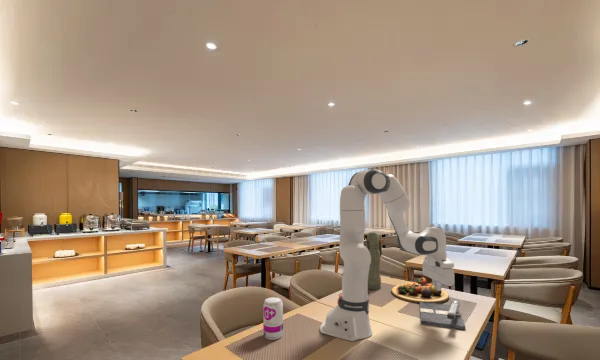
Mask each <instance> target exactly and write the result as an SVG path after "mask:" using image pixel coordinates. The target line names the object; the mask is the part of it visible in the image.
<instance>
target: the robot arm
mask: <svg viewBox="0 0 600 360" xmlns="http://www.w3.org/2000/svg"><path fill="white" fill-rule="evenodd" d="M374 194H375V195H377V194H378V195H379V197H380V198H381V200H382V203H383V204H384V206H385V208H386V210H387V215H388V217H389V220H390V222H391V225H392V228H393V229H394V232H395V234H396V237H397V243H398V246H399V248H400V249H401V250H402V251H403V252H406V253H407V252H408V253H412V254H416V255H419V256H425V257H424V258H423V262H422V275H423V276H425V277H428V278H430V279H431V281H432V285H434V289H436V290H438V291H441V289H442V286H443V285H444V286H446V287H448V286H451V287H452V286H454V284H455V272H454V271H455V270H454V268H455V264H454V262H453V261H452V260H450V259H449V257H447V255H448V254H447V251H446V247H447V239H446V238H447V237H446V232H445V230H444V228H443V227H439V226H433V225H428V226H427V227H426V228H425V229H424V230H423V231H421V232H418V233H416V232H413V231H411V230H410V229H409V226H408V225H407V223H406V220H405V218H404V214H405V213H406V212H407V211H408V210H409V209H410V206H411V202H410V198H409V196H408V194H407V193H406V190H405V188H404V187H403V186H402V184H401V182H400V181H399V180H398V179H397V177H396V176H395V175H393V174H389V173H388V174H387V173H384V172H383V171H382V170H379V169H375V168H374V169H363V170H361V171H357V172H355V173H354V174H353V175H352V176H351V178H350V180H349V183H348V184H347V185H346V186H344V187H343V188H342V189H341V191H340V195H339V196H340V197H339V221H340V223H339V224H340V225H339V226H340V230H339V256H340V258H341V260H342V261H343V272H342V273H343V274H342V279H341V288H342V289H341V290H342V291H341V293H342V294H340V295H339V296H338V299H337V305H336V306H335V307H334V308H332V309H331V310H329V311H328V312H327V314H326V316H325V320H324V321H323V322H322V323H321V324H320V326H319V327H320V328H319V331H320V333H321V334H324V335H328V336H331V337H334V338H338V339H342V340H345V341H349V342H356V341H358V340H362V339H363V340H364V339H367V338H369V337H371V336H372V335H373V330H372V325H371V322H370V314H369V312H370V300H369V296H368V294H369V293H368V285H367V282H368V273H369V266H370V263H371V255H370V252H369V250H368V249H367V247H365V246H364V238H365V231H366V210H365V200H366V199H365V198H366V197H367V195H374Z"/></svg>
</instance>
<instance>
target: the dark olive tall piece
mask: <svg viewBox="0 0 600 360" xmlns="http://www.w3.org/2000/svg"><path fill="white" fill-rule="evenodd" d="M363 244H364V246H365V247H367V249H368V250H369V252H370V255H371V263H370V266H369V273H368V282H367V285H368V289H369V290H373V291H378V290H381V289H382V287H381V285H382V277H381V274H380V273H381V270H380V269H381V267H380V265H381V264H380V262H381V257H382V255H383V250H382V247H383V245H382V244H383V243H382V241H381V240H380V237H379V234H378V233H377V232H369V233H367V236H366V240H365V241H363Z"/></svg>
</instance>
